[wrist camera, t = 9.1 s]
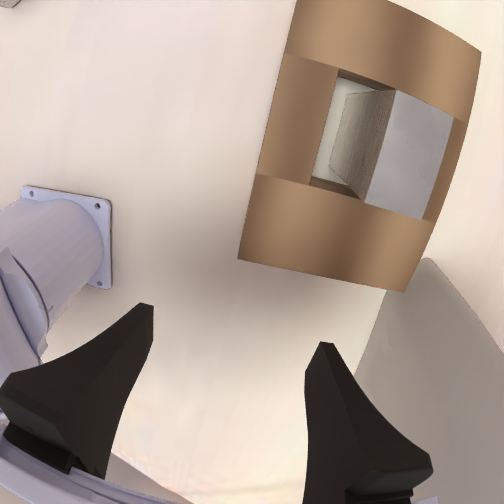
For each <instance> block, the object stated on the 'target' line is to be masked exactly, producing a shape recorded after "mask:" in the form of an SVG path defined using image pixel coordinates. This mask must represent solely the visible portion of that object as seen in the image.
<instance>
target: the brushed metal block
mask: <svg viewBox="0 0 504 504" xmlns="http://www.w3.org/2000/svg"><path fill="white" fill-rule="evenodd" d="M453 119H454V117H453V116H451V115H449V114H447V113H445V112H443V111H441V110H439V109H438V108H436V107H434V106H432V105H429V104H427V103H425V102H423V101H421V100H419V99H417V98H415V97H413V96H410V95H408V94H406V93H404V92H401V91H399V90H384V91H372V92H362V93H353V94H347V98H346V102H345V106H344V110H343V113H342V117H341V121H340V125H339V129H338V132H337V136H336V140H335V144H334V147H333V151H332V155H331V158H330V162H329V166H330V167H331V168H332V169H333V170H334V171H335V173H336V174H337V175H338V176H339V177H340V178H341V179H342V180H343V181H344V182H345V183H346V184H347V185H348V186H349V187H350V188H351V189H352V190H353V191H354V192H355V193H356V195H357V196H358V197H359V198H360V199H361V200H362V201H363V202H364V203H366V204H370V205H373V206H377V207H380V208H383V209H387V210H390V211H393V212H396V213H400V214H403V215H406V216H409V217H412V218H415V219H418V220H421V219H422V217H423V214H424V212H425V209H426V206H427V204H428V201H429V198H430V195H431V192H432V190H433V187H434V184H435V181H436V178H437V175H438V172H439V168H440V165H441V162H442V159H443V156H444V152H445V149H446V145H447V142H448V138H449V134H450V131H451V127H452V123H453Z"/></svg>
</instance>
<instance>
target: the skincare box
mask: <svg viewBox="0 0 504 504" xmlns="http://www.w3.org/2000/svg"><path fill="white" fill-rule="evenodd" d="M19 1H20V0H0V6H1V7H5V8H12V7H13V6H14V5H15V4H16V3H18V2H19Z"/></svg>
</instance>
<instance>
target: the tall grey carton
mask: <svg viewBox="0 0 504 504" xmlns="http://www.w3.org/2000/svg"><path fill="white" fill-rule="evenodd" d="M354 379H355V380H356V382H357V383H358V385H359V386H360V388H361V389H362V390H363V392H364V393H365V395H366V396H367V397H368V399H369V400H370V401H371V402H372V404H373V405H374V406H375V407H376V408H377V410H378V411H379V412H380V413H381V414H382V415H383V416H384V417H385V419H386V420H387V421H388V422H389V423H390V424H392V425H393V426H394V427H395V428H396V429H397V430H398V431H399V432H400V433H401V434H402V435H404V436H405V437H406V438H407V439H409V440H410V441H411V442H412V443H414V444H415V445H417V446H418V447H420V448H421V449H423V450H424V451H426V452H427V453H429V455H430V459H431V462H432V466H433V470H434V471H433V474H432V475H431V476H430V477H429V478H428V479H427V480H425V481H424V482H422V483H421V484H419V485H418V486H416V487H415V488H413V493H414V495H413V496H412V497H410V500H411V502H414V501H417V500H421V499H425V498H429V497H433V496H437V497H438V502H439V504H504V355H503V353H502V351H501V350H500V348H499V347H498V345H497V344H496V342H495V341H494V339H493V338H492V337H491V335H490V334H489V332H488V331H487V329H486V328H485V327H484V325H483V324H482V322H481V321H480V320H479V318H478V317H477V316H476V314H475V313H474V312H473V310H472V309H471V308H470V306H469V305H468V304H467V302H466V301H465V300H464V298H463V297H462V296H461V295H460V293H459V292H458V291H457V290H456V288H455V287H454V286H453V285H452V283H451V282H450V281H449V280H448V278H447V277H446V276H445V275H444V274H443V272H442V271H441V270H440V269H439V268H438V267H437V265H436V264H435V263H434V262H433V261H432V260H431V259H429V258H424V259H422V260H420V261H419V263H418V266H417V268H416V270H415V272H414V274H413V276H412V278H411V280H410V282H409V284H408V286H407V288H406V290H405V292H404V293H402V292H397V291H392V290H388V291H387V292H386V294H385V296H384V299H383V302H382V305H381V308H380V311H379V314H378V317H377V320H376V322H375V325H374V328H373V330H372V333H371V336H370V338H369V341H368V343H367V346H366V349H365V351H364V354H363V356H362V358H361V361H360V363H359V366H358V368H357V370H356V373H355V375H354Z"/></svg>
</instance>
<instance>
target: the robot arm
mask: <svg viewBox="0 0 504 504" xmlns="http://www.w3.org/2000/svg"><path fill="white" fill-rule="evenodd" d="M32 191H33V193H34V195H33V193H32ZM97 203H98V204H99V205H100V208H99V207H98V206H97ZM110 212H111V206H110V203H109V202H108V201H107V200H105V199H99V198H94V197H88V196H83V195H77V194H72V193H66V192H61V191H55V190H49V189H43V188H37V187H32V186H23V187H22V188H21V198H20V199H19V200H17V201H15V202H13V203H11V204H10V205H8V206H6V207H5V208H3V209H1V210H0V419H9V421H10V422H9V424H8V426H6V425H5V424H4V423H2V422H1V421H0V485H2V486H3V487H4V488H6V489H7V490H9V491H10V492H12V493H13V494H15V495H16V496H18V497H20V498H21V499H23V500H24V501H26V502H27V503H29V504H117V503H118V504H181V503H177V502H173V501H169V500H165V499H160V498H157V497H154V496H150V495H147V494H143V493H140V492H137V491H134V490H130V489H128V488H125V487H122V486H119V485H116V484H113V483H111V482H108V481H105V475H106V470H107V466H108V461H109V456H110V453H111V449H112V445H113V441H114V437H115V434H116V431H117V427H118V424H119V421H120V418H121V415H122V412H123V409H124V406H125V403H126V401H127V398H128V396H129V394H130V392H131V390H132V388H133V386H134V384H135V382H136V380H137V378H138V376H139V374H140V372H141V369H142V367H143V365H144V363H145V361H146V359H147V356H148V353H149V351H150V348H151V345H152V342H153V309H154V306H152V305H148V304H144V303H139V304H137V305H136V306H135V307H134V308H132V309H131V310H130V311H129V312H128V313H127V314H125V315H124V316H123V317H122V318H120V319H119V320H118V321H117V322H115V323H114V324H113V325H112V326H110V327H109V328H108V329H106V330H105V331H104V332H102V333H101V334H99V335H98V336H96V337H95V338H93V339H92V340H91V341H89V342H87V343H86V344H84V345H82V346H81V347H79V348H77V349H75V350H74V351H72V352H70V353H68V354H66V355H64V356H61V357H59V358H57V359H55V360H53V361H50V362H47V363H45V364H43V362H42V360H41V359H40V357H41V356H42V354H43V353H44V351H45V350H46V348H47V347H48V345H47V342H46V334H47V332H48V331H49V330H50V328H51V327H52V326H53V324H54V323H55V322H56V320H57V319H58V318H59V317H60V315H61V314H62V313H63V311H64V310H65V309H66V308H67V306H68V305H69V304H70V303H71V301H72V300H73V299H74V298H75V296H76V295H77V294H78V293H79V292H80V290H81V289H82V288H83V287H84V286H85V284H88V285H91V286H95V287H98V288H102V289H105V290H108V289H109V288H110V287H111V260H110ZM99 281H100V282H101V283H102V284H101V283H100V282H99ZM304 394H305V405H306V416H307V428H308V459H307V472H306V481H305V490H304V497H303V503H302V504H439V502H438V497H437V496H433V497H429V498H425V499H421V500H417V501H414V502H411V500H410V497H412V496H413V495H414V493H413V488H415V487H416V486H418V485H419V484H421V483H422V482H424V481H425V480H427V479H428V478H429V477H430V476H431V475H432V474H433V471H434V470H433V466H432V462H431V459H430V455H429V453H427V452H426V451H424V450H423V449H421V448H420V447H418V446H417V445H415V444H414V443H412V442H411V441H410V440H409V439H407V438H406V437H405V436H404V435H402V434H401V433H400V432H399V431H398V430H397V429H396V428H395V427H394V426H393V425H392V424H390V423H389V422H388V421H387V420H386V419H385V417H384V416H383V415H382V414H381V413H380V412H379V411H378V410H377V408H376V407H375V406H374V405H373V404H372V402H371V401H370V400H369V399H368V397H367V396H366V395H365V393H364V392H363V390H362V389H361V388H360V386H359V385H358V383H357V382H356V380H355V379H354V377H353V375H352V374H351V372H350V371H349V369H348V367H347V366H346V364H345V362H344V361H343V359H342V357H341V355H340V354H339V352H338V350H337V349H336V347H335V345H334V344H333V343H327V342H321V341H320V343H319V345H318V347H317V349H316V351H315V353H314V355H313V357H312V359H311V361H310V363H309V365H308V367H307V369H306V371H305V387H304Z"/></svg>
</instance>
